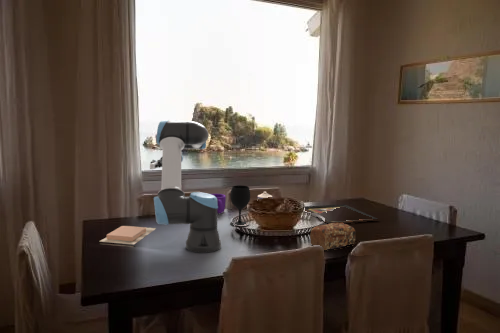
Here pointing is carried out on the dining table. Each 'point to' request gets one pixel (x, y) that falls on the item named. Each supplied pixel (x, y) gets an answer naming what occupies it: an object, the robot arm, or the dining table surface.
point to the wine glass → (240, 199)
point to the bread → (332, 235)
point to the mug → (220, 202)
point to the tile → (126, 233)
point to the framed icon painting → (330, 208)
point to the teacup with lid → (264, 195)
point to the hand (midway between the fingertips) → (151, 166)
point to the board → (148, 230)
